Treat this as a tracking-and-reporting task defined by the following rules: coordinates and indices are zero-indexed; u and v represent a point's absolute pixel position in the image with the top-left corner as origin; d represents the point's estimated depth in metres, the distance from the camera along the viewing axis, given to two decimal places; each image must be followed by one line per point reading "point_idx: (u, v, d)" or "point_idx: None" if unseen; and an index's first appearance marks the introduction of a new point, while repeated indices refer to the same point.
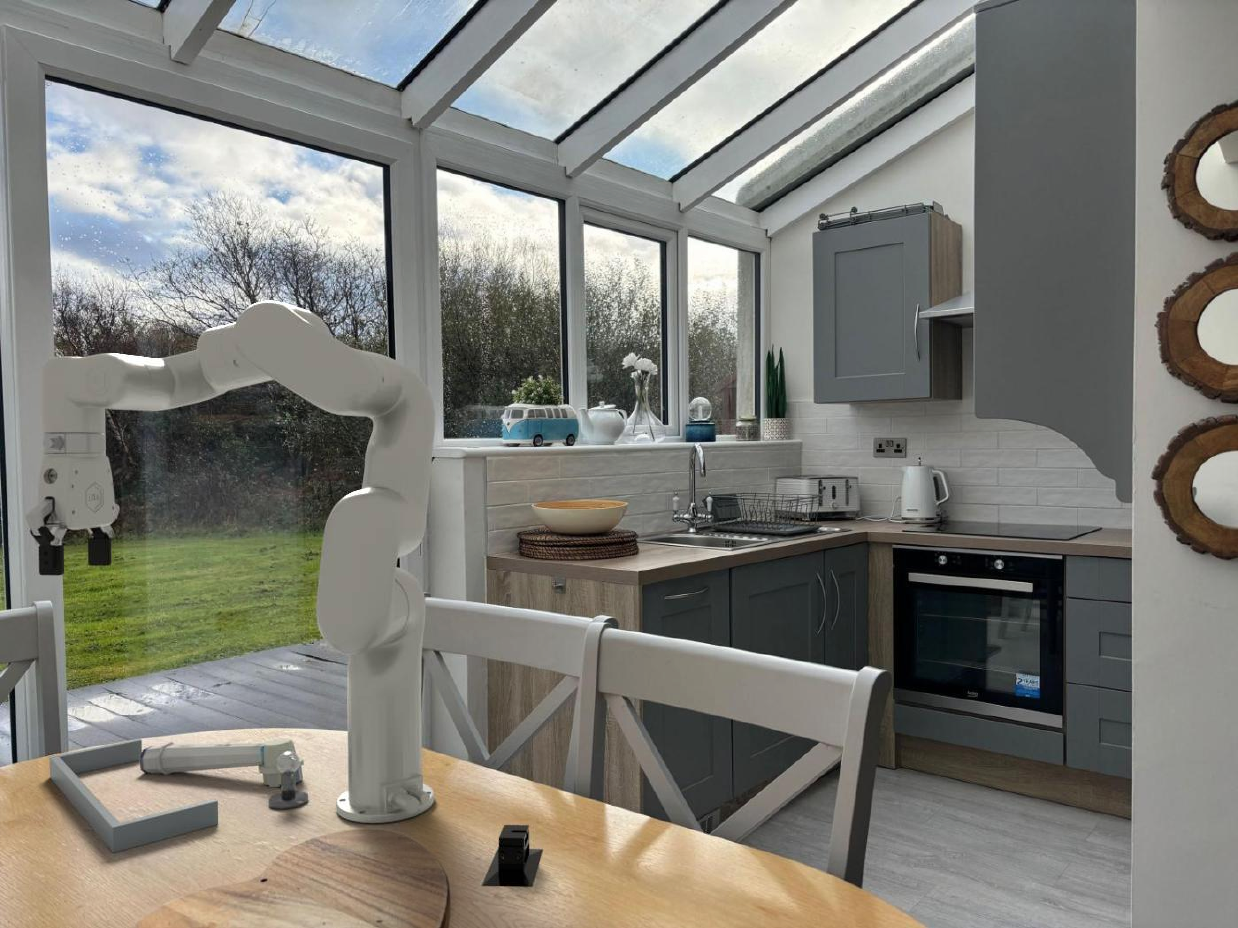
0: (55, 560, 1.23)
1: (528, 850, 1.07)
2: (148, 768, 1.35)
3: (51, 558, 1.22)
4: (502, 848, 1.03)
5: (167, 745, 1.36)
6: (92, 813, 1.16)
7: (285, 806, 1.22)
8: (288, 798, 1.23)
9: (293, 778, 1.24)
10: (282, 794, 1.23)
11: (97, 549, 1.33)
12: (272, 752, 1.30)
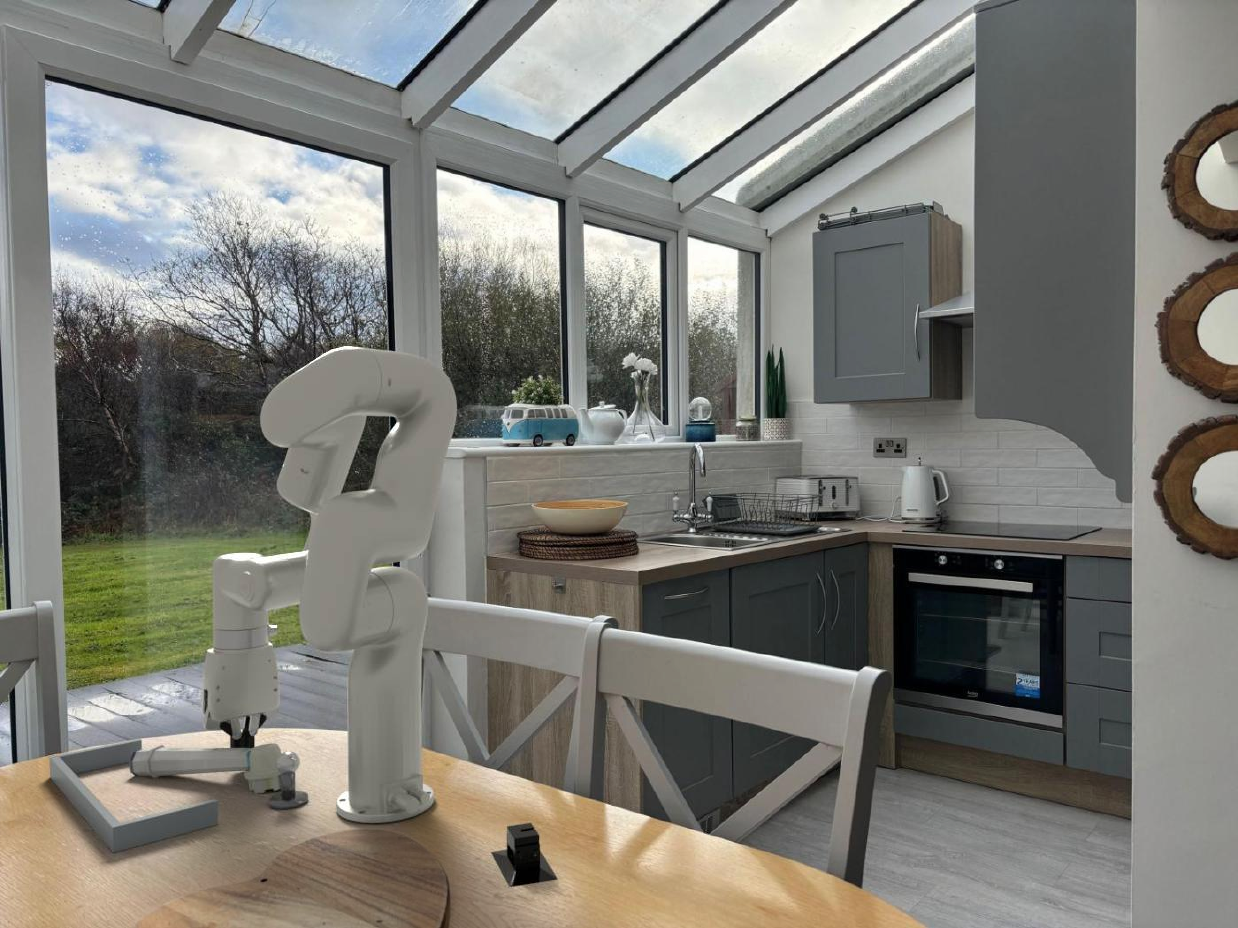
0: None
1: None
2: (137, 771, 1.33)
3: None
4: (519, 848, 1.03)
5: (157, 748, 1.34)
6: (92, 813, 1.16)
7: (285, 806, 1.22)
8: (288, 798, 1.23)
9: (293, 778, 1.24)
10: (282, 794, 1.23)
11: None
12: (257, 757, 1.28)
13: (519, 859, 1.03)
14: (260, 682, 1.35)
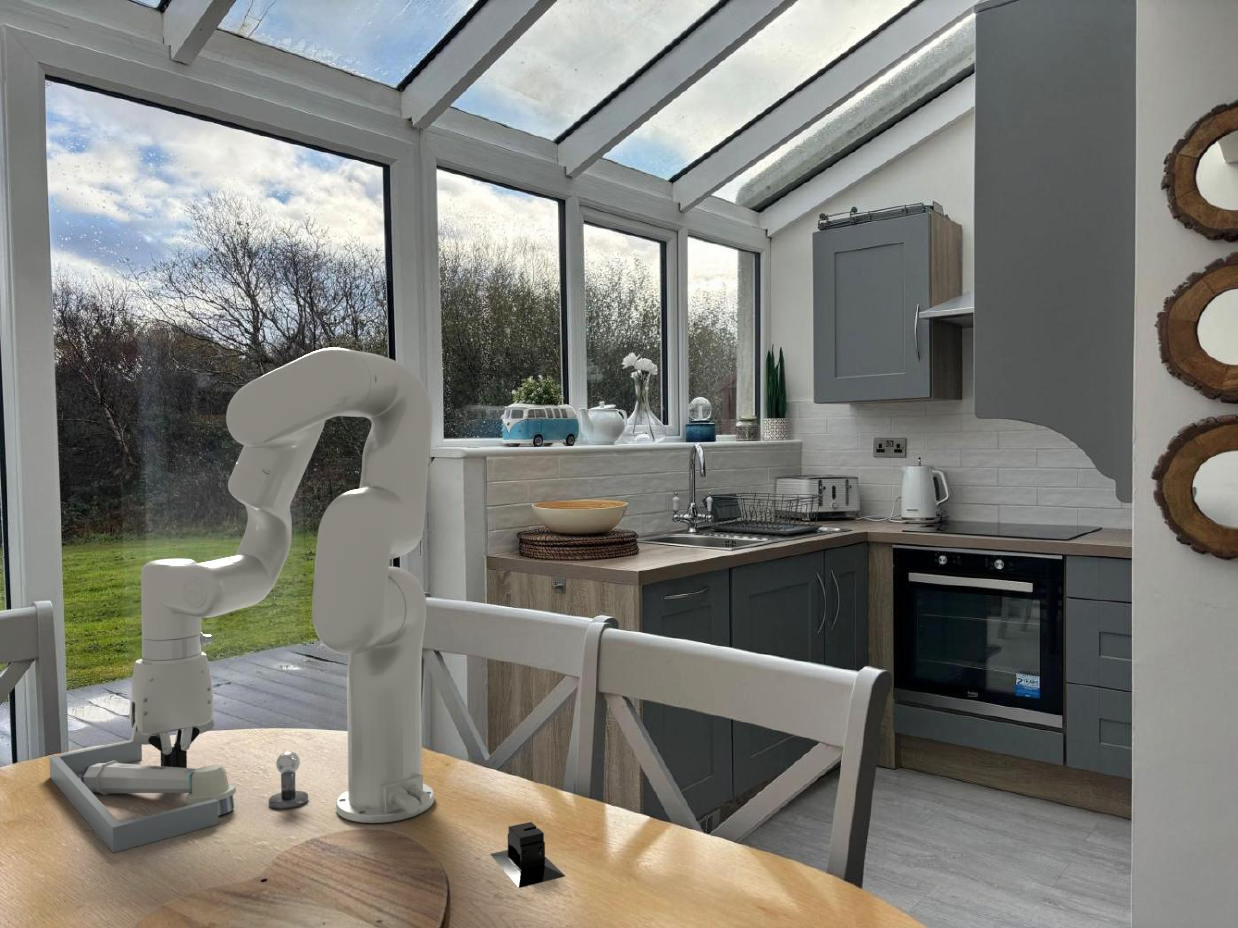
0: None
1: None
2: (88, 787, 1.27)
3: None
4: (525, 847, 1.03)
5: (108, 764, 1.28)
6: (92, 813, 1.16)
7: (285, 806, 1.22)
8: (288, 798, 1.23)
9: (293, 778, 1.24)
10: (282, 794, 1.23)
11: None
12: (198, 780, 1.20)
13: (525, 858, 1.03)
14: (192, 694, 1.29)
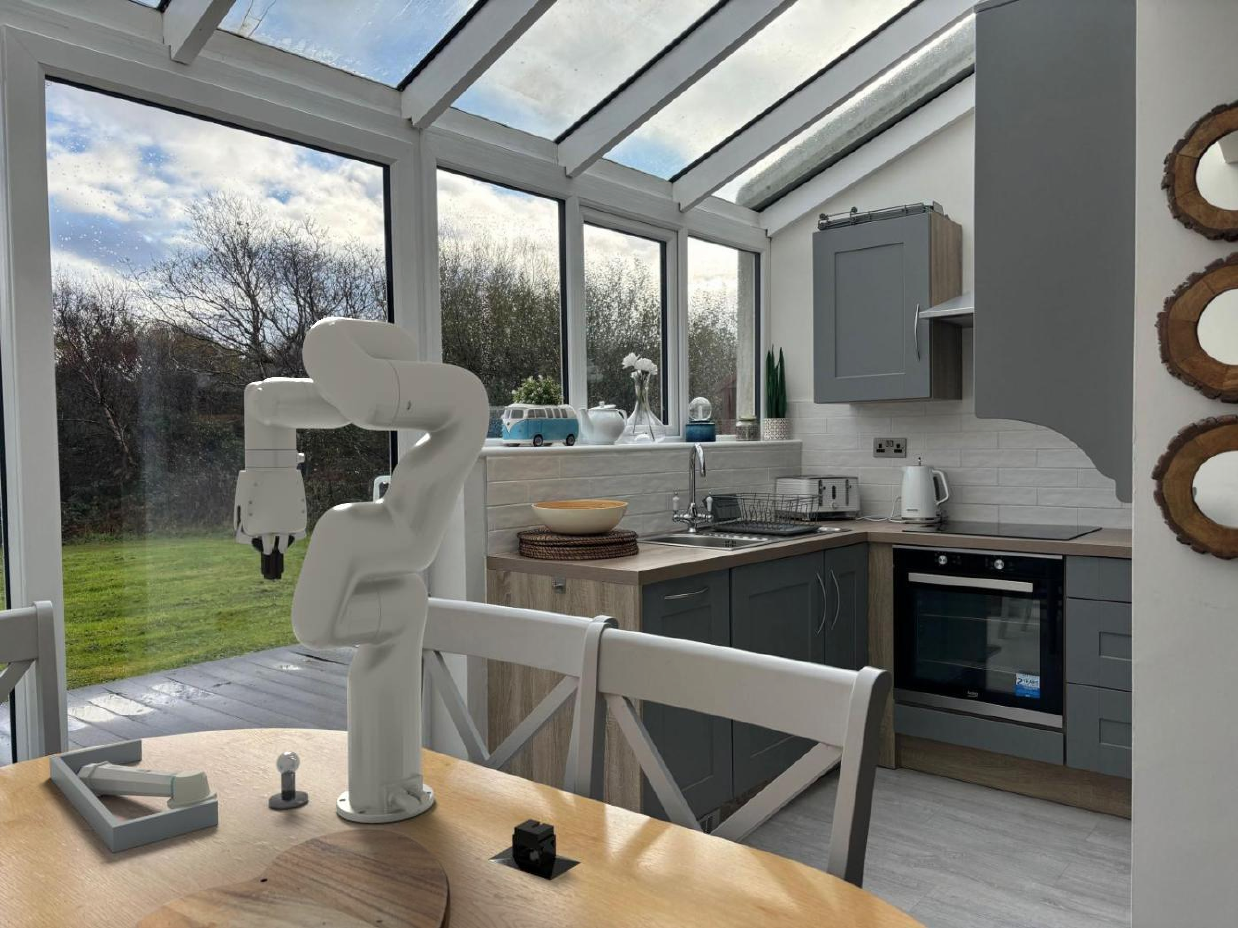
0: None
1: None
2: None
3: None
4: (542, 843, 1.04)
5: (100, 764, 1.27)
6: (92, 813, 1.16)
7: (285, 806, 1.22)
8: (288, 798, 1.23)
9: (293, 778, 1.24)
10: (282, 794, 1.23)
11: None
12: (178, 785, 1.18)
13: (542, 853, 1.04)
14: (289, 502, 1.44)
